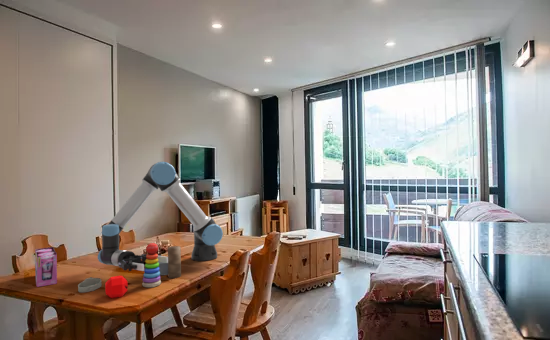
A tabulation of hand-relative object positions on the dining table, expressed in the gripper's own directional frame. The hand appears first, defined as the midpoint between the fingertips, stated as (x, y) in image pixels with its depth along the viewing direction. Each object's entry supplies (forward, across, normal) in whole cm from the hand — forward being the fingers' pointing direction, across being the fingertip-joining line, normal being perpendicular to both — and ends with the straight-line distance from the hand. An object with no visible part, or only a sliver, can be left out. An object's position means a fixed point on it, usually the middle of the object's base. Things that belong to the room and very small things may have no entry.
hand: (155, 263), depth 144 cm
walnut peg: (-3, -14, -10) cm, 18 cm away
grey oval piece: (-23, +15, -10) cm, 30 cm away
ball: (-6, +16, -10) cm, 19 cm away
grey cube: (-12, -15, -10) cm, 22 cm away
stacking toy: (-3, 0, -10) cm, 11 cm away
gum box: (-58, +16, -10) cm, 61 cm away
